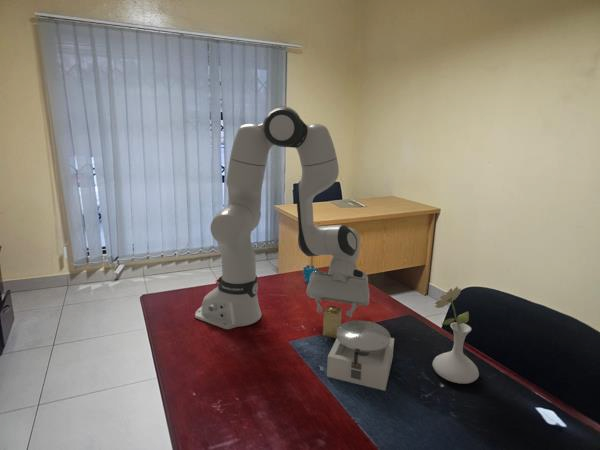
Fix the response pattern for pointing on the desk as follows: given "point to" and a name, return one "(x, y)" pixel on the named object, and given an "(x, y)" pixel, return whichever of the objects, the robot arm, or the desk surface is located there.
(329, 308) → the brass weight
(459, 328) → the flower in vase
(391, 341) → the base
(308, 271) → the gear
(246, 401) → the desk surface
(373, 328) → the scale pan
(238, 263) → the robot arm
